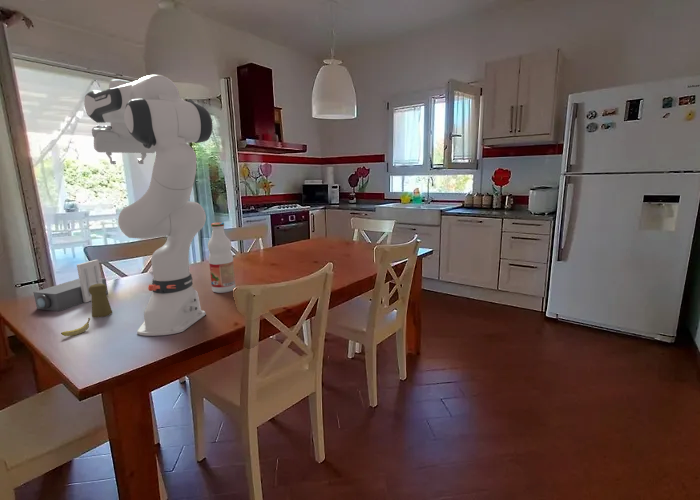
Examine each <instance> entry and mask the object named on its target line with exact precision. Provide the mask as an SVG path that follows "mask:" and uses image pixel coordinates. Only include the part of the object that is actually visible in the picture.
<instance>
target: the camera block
mask: <svg viewBox="0 0 700 500" xmlns="http://www.w3.org/2000/svg"><path fill="white" fill-rule="evenodd" d="M102 283H103V284H105V285H106V287H107V288H108V284H107V279H106V278H103V277H102ZM107 294H109V291H108V289H107V291H106V295H107ZM33 296H34V297H33V298H34V301H35V305H36V309H38V310H43V311H45V310H46V311H52V312H53V311H54V312H61V311H64V310H67V309H70V308H72V307H74V306H78V305H79V304H83V303H84V302H83V296H82V291H81V286H80V280H79V278H77V279H74V280H70V281H67V282H63V283H60V284H56V285H53V286H49V287H46V288H42V289H39V290H36V291H33Z"/></svg>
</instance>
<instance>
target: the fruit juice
mask: <svg viewBox="0 0 700 500" xmlns="http://www.w3.org/2000/svg"><path fill="white" fill-rule="evenodd" d="M210 226H211V232H212V233H211V237H210V239H208V242H207V249H208V251H209V255H208V263H209V264H208V265H209V274H210V282H211V290H212V292H214V293H216V294H217V293H218V294H222V293H229V292H232V291H234V290H233V288H235V289H236V278H235V277H236V276H235V266H234V256H233V253H232V251H231V250H232V241H231V239H230V238H229V237H228V236H227V235H226V232H225V229H224V228H225V223H224V222H212V223H211V225H210Z"/></svg>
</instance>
